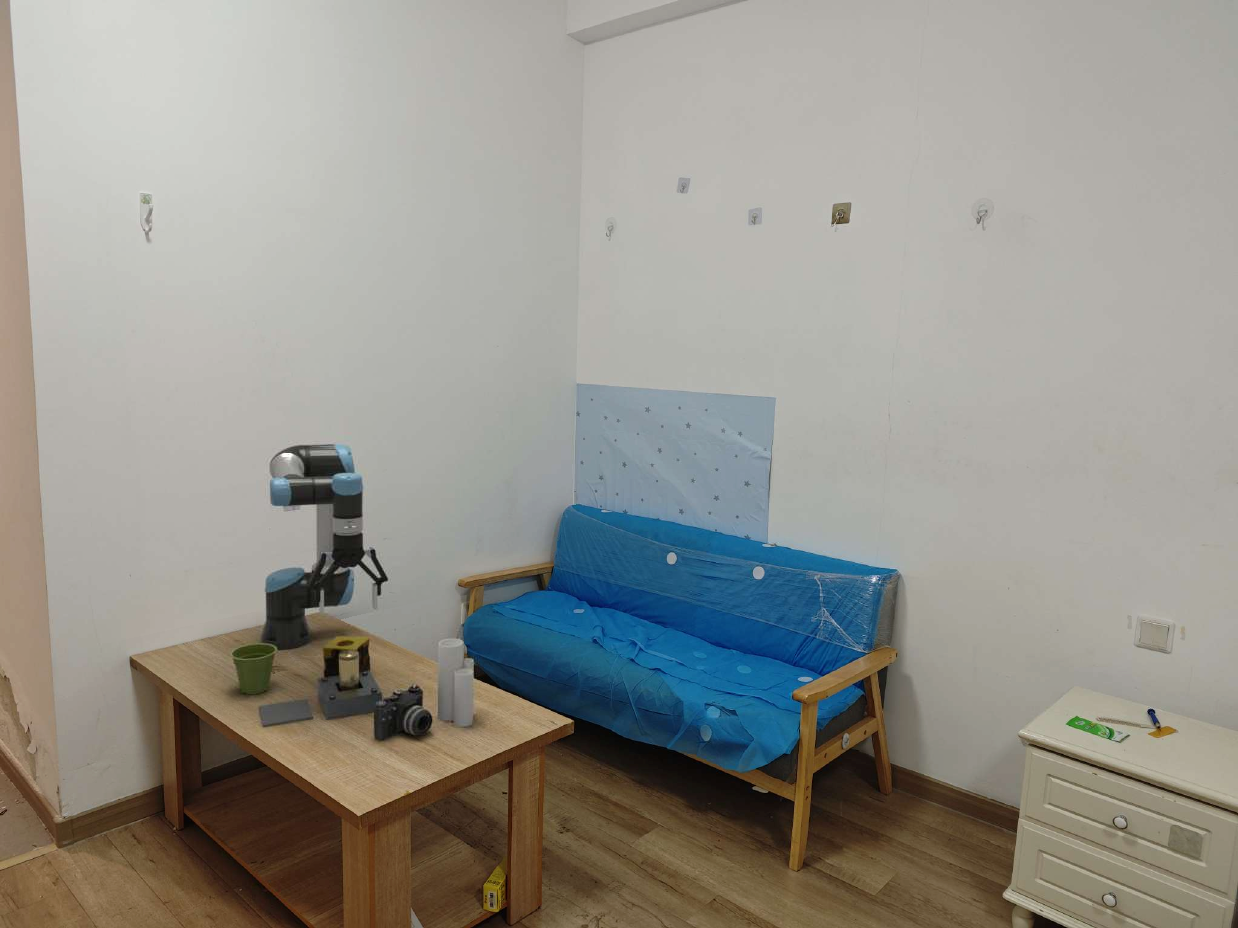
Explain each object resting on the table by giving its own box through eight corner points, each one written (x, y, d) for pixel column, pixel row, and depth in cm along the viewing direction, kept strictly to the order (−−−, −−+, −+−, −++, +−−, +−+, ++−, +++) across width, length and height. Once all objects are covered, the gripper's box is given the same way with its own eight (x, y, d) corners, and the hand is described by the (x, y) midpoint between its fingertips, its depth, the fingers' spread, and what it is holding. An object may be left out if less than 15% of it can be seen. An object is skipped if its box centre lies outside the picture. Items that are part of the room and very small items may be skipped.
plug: (337, 700, 223) (337, 651, 221) (357, 697, 226) (356, 648, 224) (341, 708, 219) (340, 658, 217) (360, 705, 221) (360, 655, 219)
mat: (258, 708, 217) (258, 705, 217) (307, 700, 223) (307, 698, 223) (263, 727, 207) (263, 724, 206) (313, 718, 212) (313, 716, 212)
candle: (371, 669, 245) (370, 637, 244) (357, 682, 236) (356, 649, 234) (338, 667, 246) (337, 635, 245) (322, 680, 236) (322, 647, 235)
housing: (317, 695, 226) (317, 676, 225) (369, 687, 232) (369, 668, 232) (326, 719, 212) (326, 699, 211) (382, 710, 218) (382, 690, 218)
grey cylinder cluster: (432, 716, 216) (432, 643, 213) (451, 707, 222) (451, 636, 219) (464, 728, 210) (465, 653, 207) (483, 718, 216) (484, 645, 213)
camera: (400, 749, 198) (400, 710, 197) (369, 737, 204) (369, 698, 202) (442, 728, 210) (442, 691, 209) (412, 716, 216) (412, 680, 214)
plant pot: (224, 688, 228) (223, 650, 226) (266, 677, 237) (265, 640, 235) (242, 702, 220) (241, 662, 218) (285, 690, 229) (284, 651, 227)
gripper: (299, 538, 206) (300, 620, 209) (399, 531, 218) (399, 609, 221) (295, 532, 213) (296, 611, 216) (392, 526, 225) (392, 601, 228)
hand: (348, 610), depth 218 cm, fingers open, 13 cm apart
